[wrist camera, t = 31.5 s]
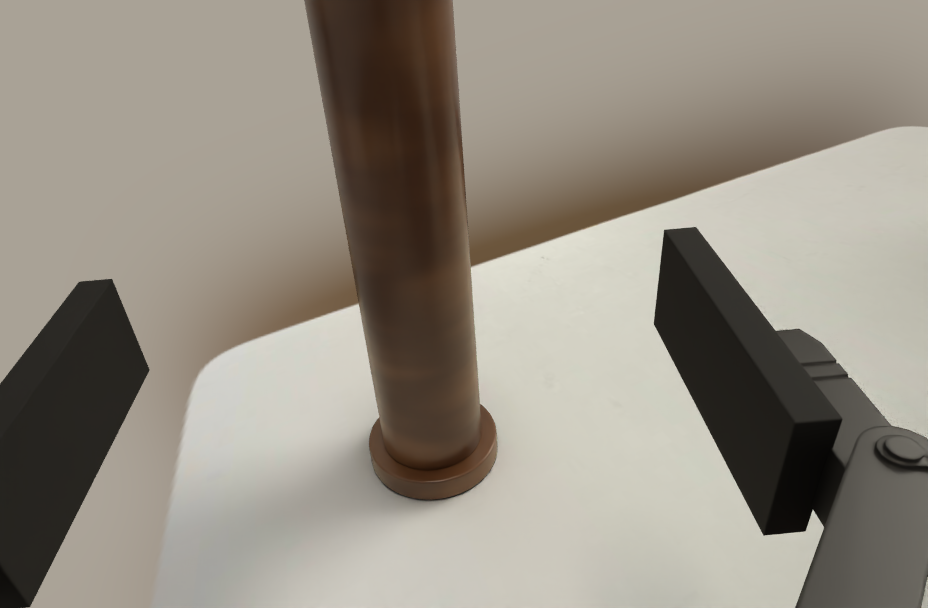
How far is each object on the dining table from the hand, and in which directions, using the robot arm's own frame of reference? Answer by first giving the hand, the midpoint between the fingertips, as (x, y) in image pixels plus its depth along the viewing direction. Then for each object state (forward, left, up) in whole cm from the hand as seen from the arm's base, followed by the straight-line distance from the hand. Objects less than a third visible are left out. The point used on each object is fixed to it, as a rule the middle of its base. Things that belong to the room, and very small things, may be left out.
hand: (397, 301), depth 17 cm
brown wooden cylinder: (0, +6, -12) cm, 13 cm away
